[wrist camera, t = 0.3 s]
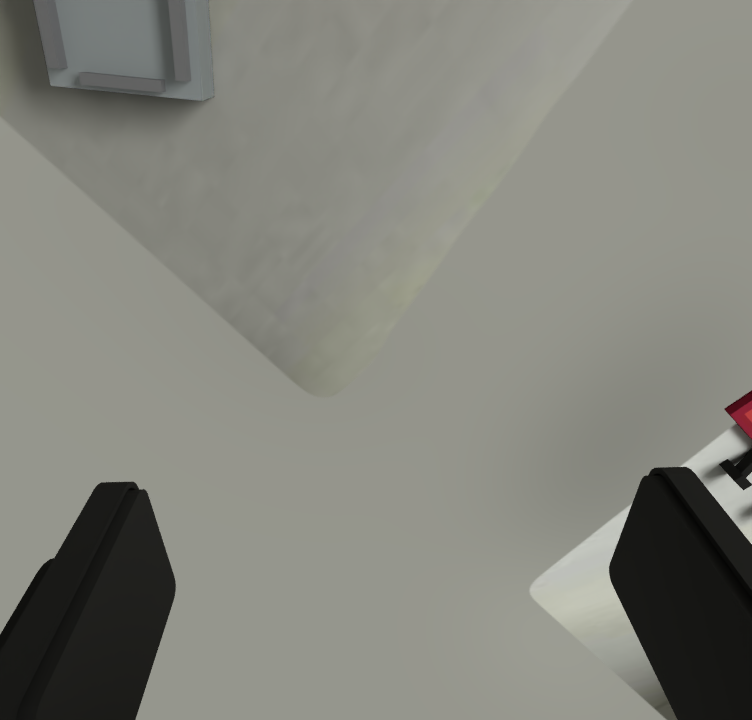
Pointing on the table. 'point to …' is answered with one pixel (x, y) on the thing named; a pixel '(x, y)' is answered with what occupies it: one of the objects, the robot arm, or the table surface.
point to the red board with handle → (748, 415)
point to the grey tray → (128, 46)
